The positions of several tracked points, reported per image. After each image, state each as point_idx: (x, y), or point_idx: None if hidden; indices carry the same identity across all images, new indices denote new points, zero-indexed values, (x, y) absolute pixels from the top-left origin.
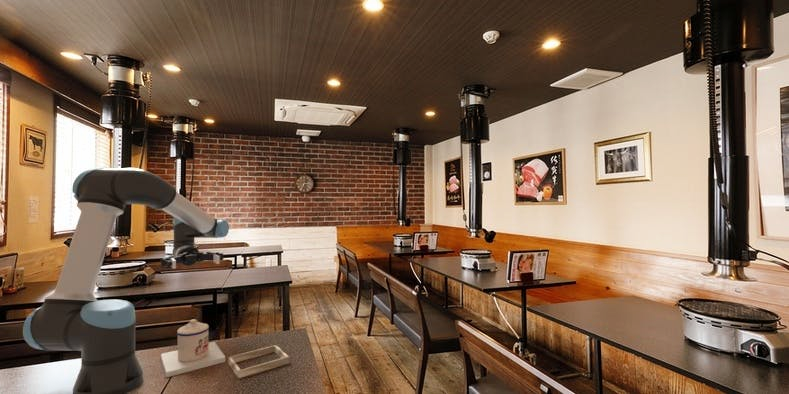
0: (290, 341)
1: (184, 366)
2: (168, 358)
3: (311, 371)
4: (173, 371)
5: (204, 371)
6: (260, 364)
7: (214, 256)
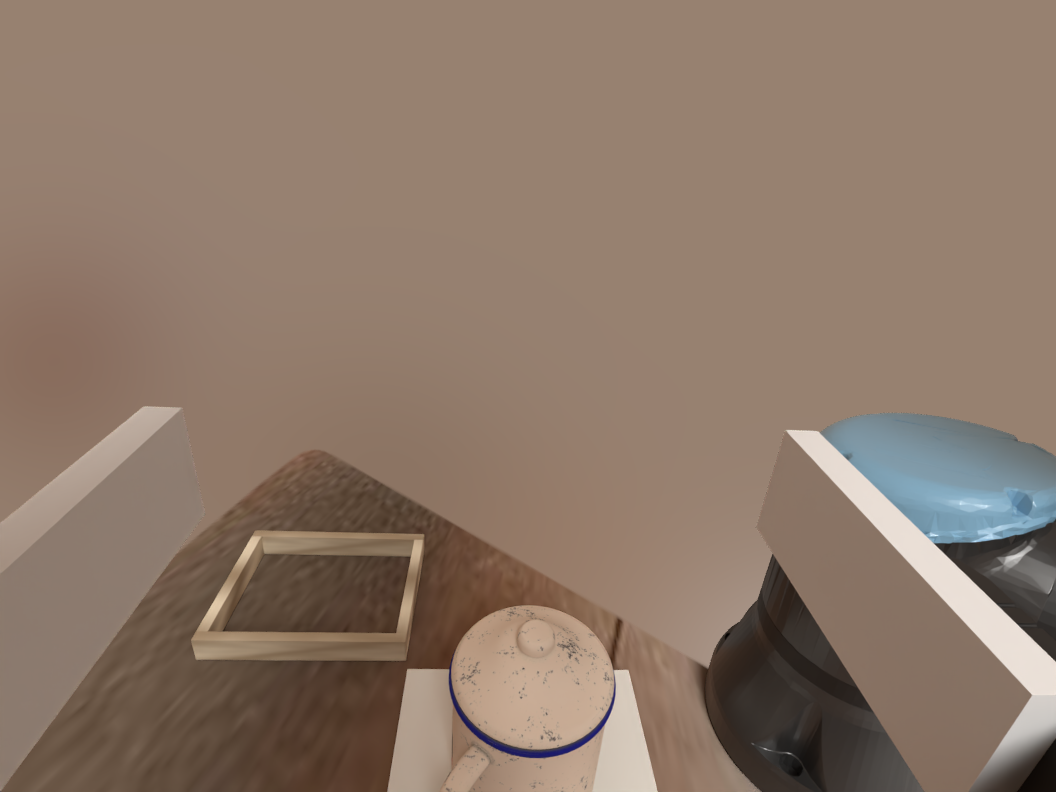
0: None
1: None
2: None
3: (261, 488)
4: None
5: None
6: (352, 536)
7: (21, 596)
